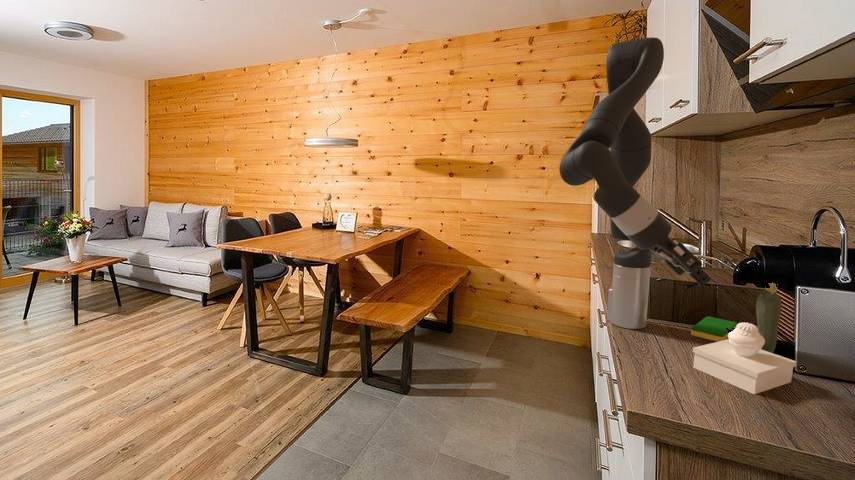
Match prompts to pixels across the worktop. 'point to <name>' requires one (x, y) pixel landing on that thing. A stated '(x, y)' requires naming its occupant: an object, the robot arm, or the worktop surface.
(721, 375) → the cardboard box
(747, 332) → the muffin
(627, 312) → the robot arm
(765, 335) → the vegetable
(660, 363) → the worktop surface
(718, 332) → the dish sponge
